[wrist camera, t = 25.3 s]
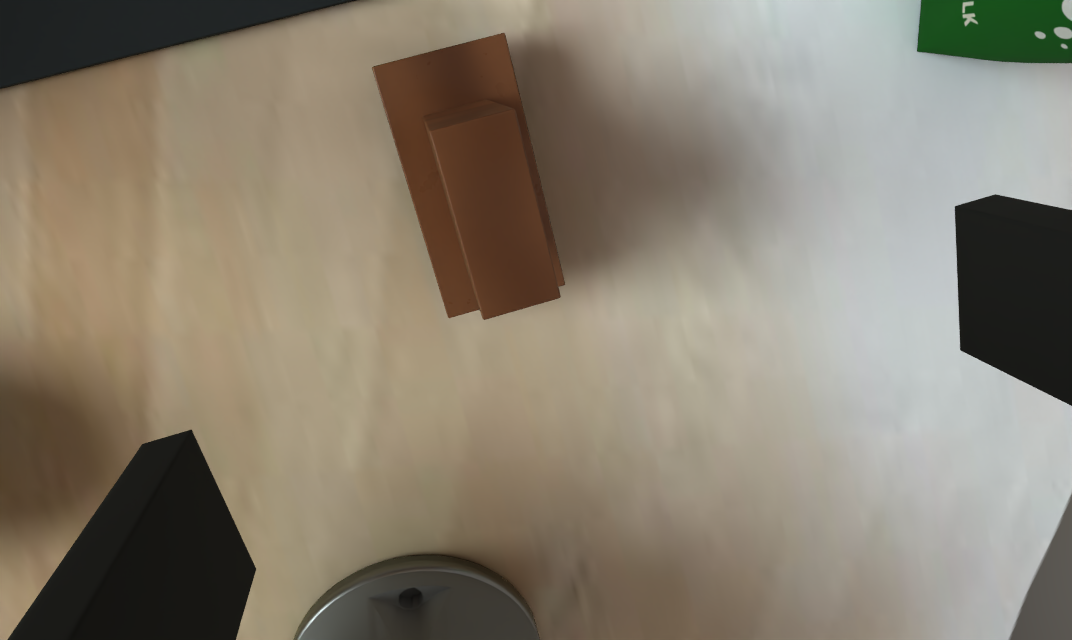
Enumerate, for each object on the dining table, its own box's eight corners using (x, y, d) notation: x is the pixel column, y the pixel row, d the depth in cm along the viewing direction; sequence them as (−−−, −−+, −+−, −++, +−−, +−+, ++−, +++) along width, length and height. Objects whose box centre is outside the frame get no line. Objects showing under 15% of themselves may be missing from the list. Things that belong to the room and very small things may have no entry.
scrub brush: (444, 299, 39) (462, 391, 28) (374, 67, 35) (361, 65, 24) (553, 268, 40) (613, 347, 28) (496, 35, 35) (540, 19, 24)
